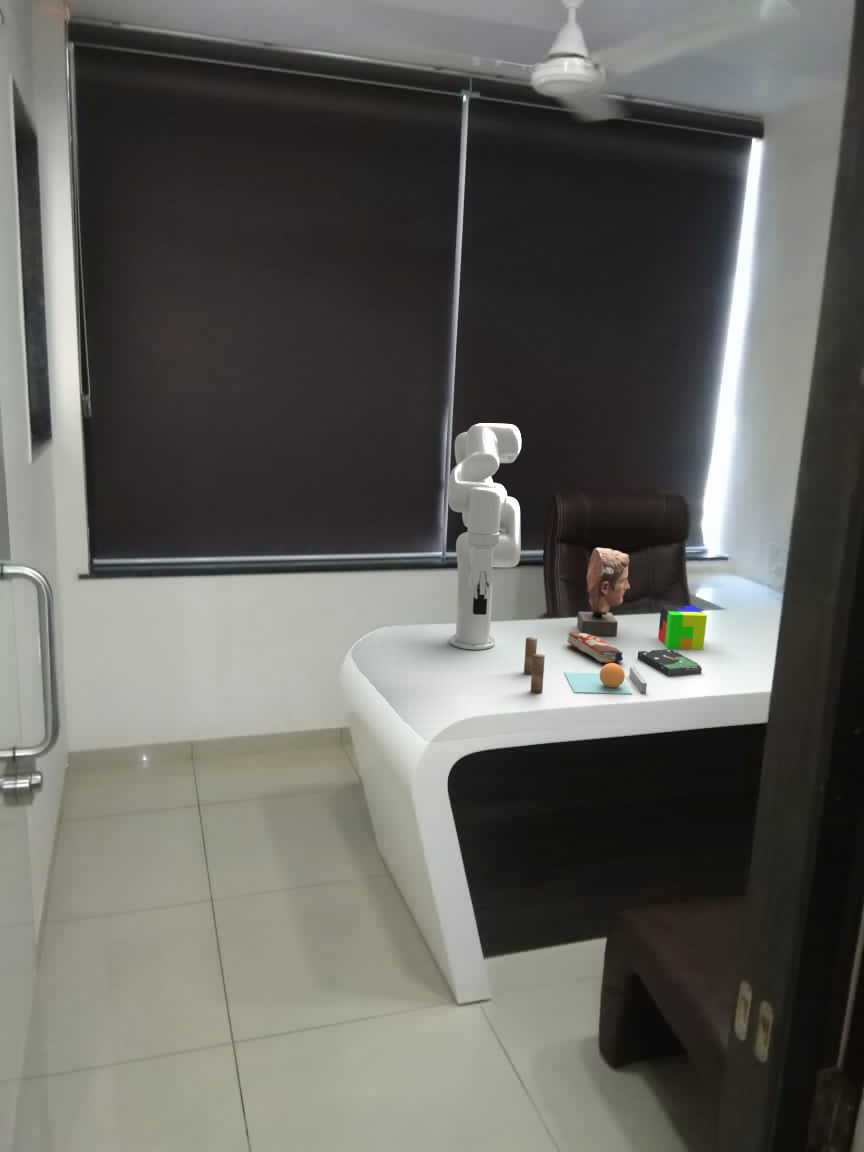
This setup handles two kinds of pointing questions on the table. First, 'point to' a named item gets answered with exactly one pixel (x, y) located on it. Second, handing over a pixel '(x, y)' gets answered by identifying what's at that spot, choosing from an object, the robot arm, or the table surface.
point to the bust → (604, 591)
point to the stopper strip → (638, 680)
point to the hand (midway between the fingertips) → (479, 613)
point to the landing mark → (593, 684)
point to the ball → (612, 675)
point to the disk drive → (669, 662)
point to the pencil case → (595, 647)
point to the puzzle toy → (682, 627)
